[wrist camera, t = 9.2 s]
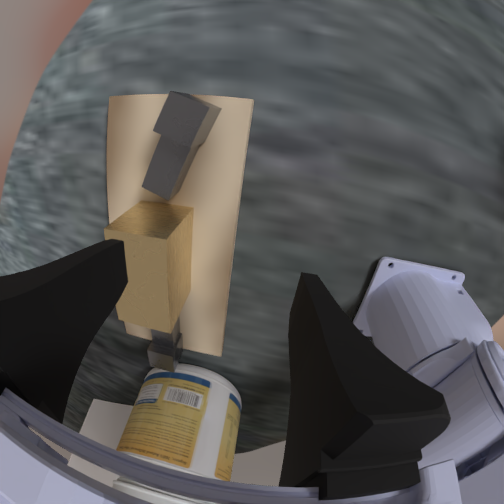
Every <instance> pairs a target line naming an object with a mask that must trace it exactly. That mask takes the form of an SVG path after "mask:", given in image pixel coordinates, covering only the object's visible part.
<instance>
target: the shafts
mask: <svg viewBox="0 0 504 504" xmlns="http://www.w3.org/2000/svg"><path fill="white" fill-rule="evenodd" d="M221 110H222V108H220V107H218V106H215V105H213V104H211V103H209V102H206V101H204V100H202V99H199V98H197V97H195V96H192V95H190V94H186V93H180V92H174V91H170V93H169V95H168V97H167V99H166V101H165V103H164V105H163V108H162V110H161V112H160V114H159V117H158V119H157V121H156V124H155V126H154V129H153V131H154V132H156V133H158V134H161V137H160V139H159V142H158V144H157V147H156V149H155V152H154V154H153V157H152V159H151V162H150V165H149V167H148V170H147V173H146V175H145V178H144V181H143V184H142V188H144V189H146V190H148V191H150V192H152V193H154V194H156V195H158V196H160V197H162V198H164V199H166V200H168V201H169V200H170V199H171V198H172V197H173V196H175V195H176V194H177V193H178V192H179V191H180V189H181V187H182V184H183V182H184V180H185V177H186V175H187V173H188V171H189V168H190V166H191V164H192V162H193V160H194V158H195V155H196V153H197V151H198V149H199V147H200V145H201V143H204V142H205V141H206V139H207V137H208V135H209V133H210V131H211V129H212V127H213V125H214V123H215V121H216V119H217V117H218V115H219V113H220V111H221ZM151 334H152V341H151V343H150V345H149V347H148V349H147V353H148V358H149V363H150V366H151V367H155V368H158V369H162V370H166V371H169V372H173V373H175V370H176V367H177V364H178V362H179V359H180V357H181V354H182V351H183V338H182V333H180V317H178V319H177V321H176V323H175V325H174V328H173V330H172V332H171V334H170V333H166V332H162V331H158V330H154V329H151Z"/></svg>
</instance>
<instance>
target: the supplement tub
mask: <svg viewBox="0 0 504 504" xmlns="http://www.w3.org/2000/svg"><path fill="white" fill-rule="evenodd" d="M241 408H242V404H241V397H240V395H239V392H238V391H237V389H236V388H235V387H234V386H233V385H232V383H230V382H229V381H228V380H227V379H225V378H224V377H222V376H221V375H219V374H217V373H215V372H213V371H211V370H208V369H206V368H202V367H199V366H195V365H190V364H184V363H178V364H177V367H176V370H175V373H173V372H169V371H166V370H162V369H158V368H153V369H152V370H151V371H150V372H149V373H148V374H147V376H146V377H145V379H144V382H143V385H142V387H141V389H140V392H139V394H138V397H137V399H136V401H135V404H134V406H133V409H132V411H131V414H130V416H129V419H128V421H127V424H126V426H125V429H124V431H123V434H122V436H121V439H120V441H119V444H118V446H117V449H116V450H117V451H119V452H122V453H124V454H127V455H130V456H132V457H135V458H138V459H141V460H144V461H147V462H150V463H153V464H156V465H159V466H162V467H166V468H169V469H173V470H177V471H181V472H185V473H189V474H193V475H197V476H202V477H207V478H212V479H218V480H223V481H230V478H231V472H232V465H233V459H234V453H235V446H236V440H237V433H238V427H239V420H240V413H241ZM119 476H120V475H119ZM112 488H114V489H116V490H119V491H121V492H124V493H126V494H128V495H131V496H134V497H136V498H139V499H142V500H144V501H147V502H150V503H153V504H216V503H214V502H208V501H203V500H198V499H194V498H189V497H185V496H181V495H177V494H173V493H170V492H166V491H163V490H159V489H156V488H153V487H150V486H147V485H144V484H141V483H138V482H135V481H132V480H130V479H127V478H125V477H122V476H120V477H119V478H117V480H113V486H112Z"/></svg>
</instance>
